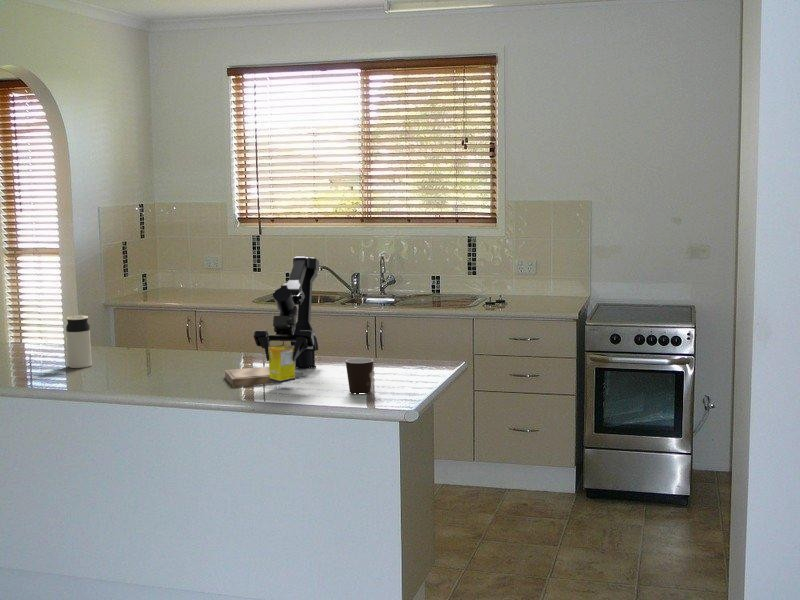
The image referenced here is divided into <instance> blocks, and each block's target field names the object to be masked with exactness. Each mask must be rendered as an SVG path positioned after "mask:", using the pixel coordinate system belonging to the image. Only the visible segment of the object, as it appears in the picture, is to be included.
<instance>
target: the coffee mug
mask: <svg viewBox="0 0 800 600" xmlns="http://www.w3.org/2000/svg"><path fill="white" fill-rule="evenodd" d="M345 366H346V375H347V382H348V389H349V393H350V392H351V393H356V394H355V395H357V394H359V393H368V392H370V393H371V391H372V390H371V389H372V380H373V369H374V368H373V367H374V359H373V358H369V357H353V358H348V359H346V360H345ZM351 393H350V394H351ZM368 394H369V393H368Z"/></svg>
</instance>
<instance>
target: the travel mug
mask: <svg viewBox="0 0 800 600" xmlns="http://www.w3.org/2000/svg"><path fill="white" fill-rule="evenodd" d="M65 319H66V321H67V324H66V327H65V328H66V329H65V330H66V346H67V347H66V348H67V361H68V367H69V368H70V369H85V368H89V367H91V366H92V364H93V362H92V346H91V332H90V330H91V329H90V324H89V322H88V319H89V316H88V315H72V316H67V317H66V318H65Z"/></svg>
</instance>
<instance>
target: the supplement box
mask: <svg viewBox="0 0 800 600" xmlns="http://www.w3.org/2000/svg"><path fill="white" fill-rule="evenodd" d="M268 349H269V361H268V367H269V374H270V381H273V382H278V383H277V384H282V383H286V382H291V381H296V379H295V372H296V370H295V369H296V367H295V366H294V361H293V353H294V347H293V346H291V345H288V344H287V345H286V344H280V345H273V346H271V347H268Z"/></svg>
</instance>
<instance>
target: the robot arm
mask: <svg viewBox="0 0 800 600" xmlns="http://www.w3.org/2000/svg"><path fill="white" fill-rule="evenodd" d="M292 260H293V261H292V269H291V272H290V274H289V279H288V281H287V282H286V283H284V284H283V285H282V284H281V286H280V287H279V288H277V289H276V290H274V292H273V294H272V295H273V296H272V297H273V300H274V302H275V305H276V308H277V310H278V311H279V312H278V313H279V314H278V315H274V316H273V320H272V321H273V322H272V327H273V332H274V334H273V333H272V334H270V333H268V330H267V329H256V330H255V331H254V332H253V339H254V341H255V344H256V346H257V347H261V348H262V349H264V351H265V358H266V361H267V362H269V349H268V347H272V346H271V344H270V342H272V341H273V342H277V341H278V342H290V346H293V347H294V353H293V361H294V366H295V369H297V370H303V369H304V370H305V369H316V368H317V365H316V361H315V360H316V355H315V352H316V351H319V342H318V338H317V335H316V332H315V329H314V327H313V325H312V323H311V318H312V317H311V316H312V315H311V314H312V297H313V295H312V294H313V283H314V281H315V280H316V278H317V277H318V271H319V270H320V261H319V259H317V257H315V256H312V257H310V256H300V255H299V256H298V255H297V256H294V257H293V259H292Z"/></svg>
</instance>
